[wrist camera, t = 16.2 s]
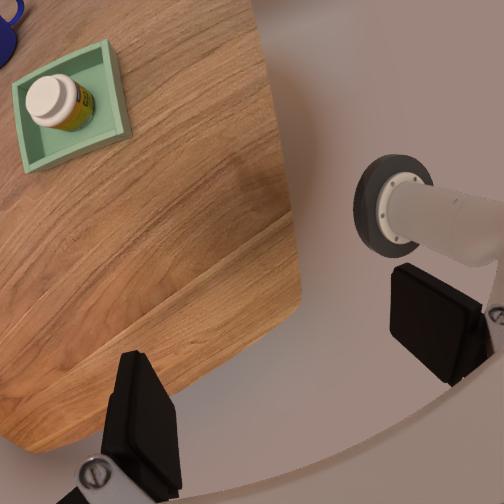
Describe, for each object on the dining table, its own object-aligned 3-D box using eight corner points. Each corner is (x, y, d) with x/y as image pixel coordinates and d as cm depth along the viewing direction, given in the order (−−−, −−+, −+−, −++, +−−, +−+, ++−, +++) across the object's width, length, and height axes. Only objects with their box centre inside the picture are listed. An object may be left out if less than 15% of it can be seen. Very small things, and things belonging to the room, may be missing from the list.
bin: (116, 54, 27) (107, 38, 22) (132, 136, 31) (124, 132, 26) (31, 91, 25) (11, 83, 20) (45, 171, 29) (25, 174, 24)
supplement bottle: (104, 113, 29) (77, 97, 19) (69, 141, 28) (31, 137, 19) (85, 80, 27) (54, 56, 17) (50, 108, 26) (11, 96, 17)
